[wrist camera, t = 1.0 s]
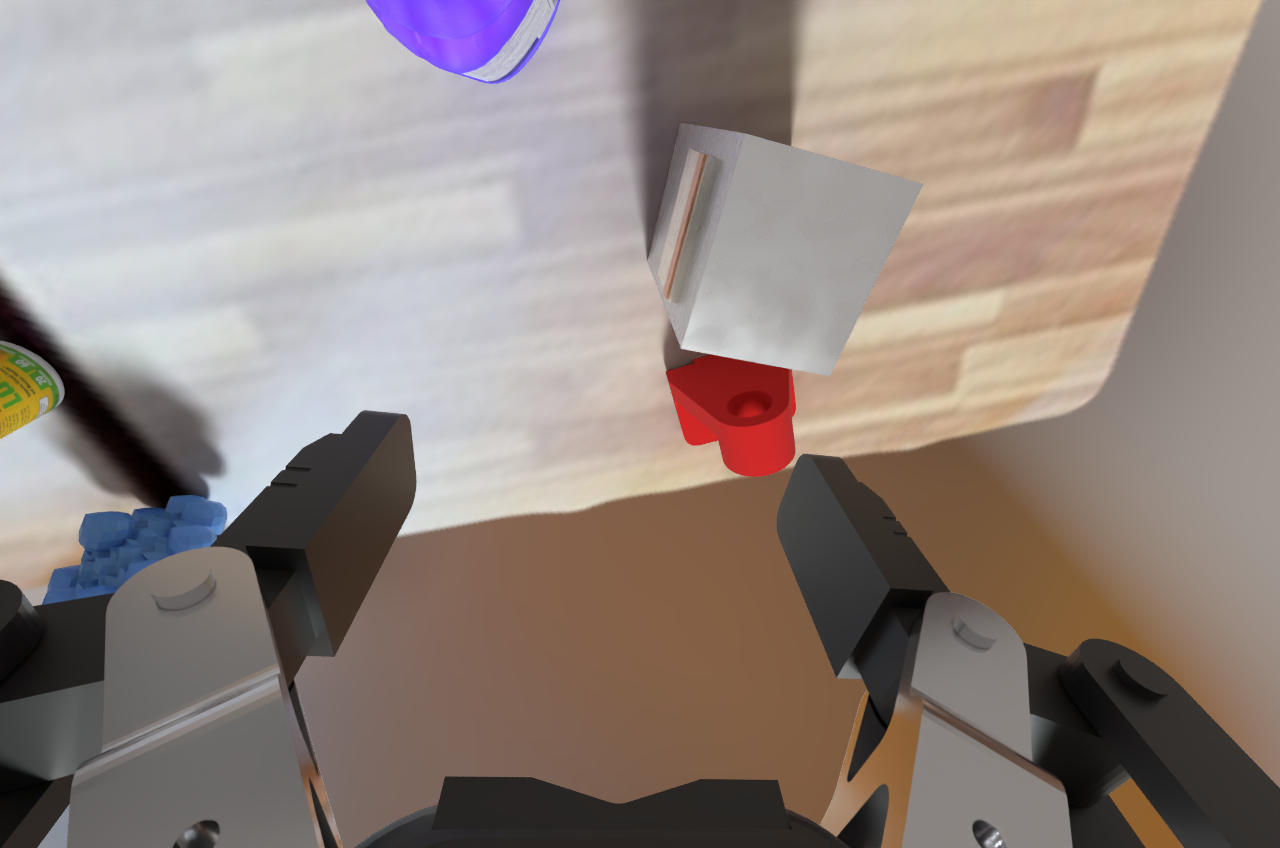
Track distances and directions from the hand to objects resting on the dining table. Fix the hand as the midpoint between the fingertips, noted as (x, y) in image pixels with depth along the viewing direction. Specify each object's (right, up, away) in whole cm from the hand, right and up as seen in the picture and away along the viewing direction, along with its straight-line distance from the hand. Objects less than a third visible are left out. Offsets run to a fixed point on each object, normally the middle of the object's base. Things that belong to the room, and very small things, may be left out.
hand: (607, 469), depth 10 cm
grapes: (-35, -4, +29) cm, 46 cm away
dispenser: (+6, +15, +21) cm, 26 cm away
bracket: (+8, +4, +28) cm, 29 cm away
